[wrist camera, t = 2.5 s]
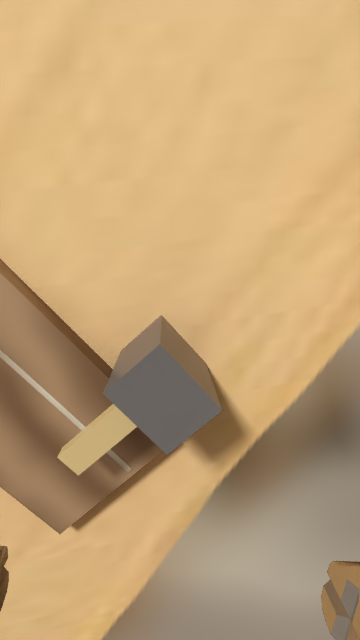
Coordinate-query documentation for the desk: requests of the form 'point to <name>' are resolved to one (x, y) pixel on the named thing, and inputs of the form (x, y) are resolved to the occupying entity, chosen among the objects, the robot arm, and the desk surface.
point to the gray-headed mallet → (149, 397)
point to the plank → (53, 411)
